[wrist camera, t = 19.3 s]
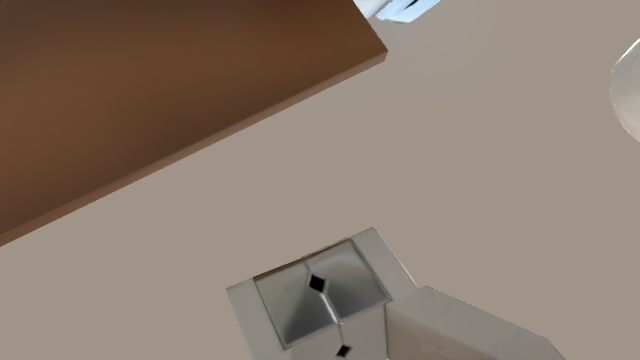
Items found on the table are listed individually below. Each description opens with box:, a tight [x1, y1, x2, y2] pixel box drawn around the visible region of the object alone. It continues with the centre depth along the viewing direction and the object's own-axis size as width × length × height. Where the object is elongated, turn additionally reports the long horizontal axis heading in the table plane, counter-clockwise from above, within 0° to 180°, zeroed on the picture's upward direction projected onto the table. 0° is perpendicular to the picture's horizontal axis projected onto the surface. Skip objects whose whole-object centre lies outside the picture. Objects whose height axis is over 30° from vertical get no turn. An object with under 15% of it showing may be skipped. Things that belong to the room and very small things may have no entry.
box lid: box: [0, 0, 388, 247], centre depth 22 cm, size 13×17×1 cm
